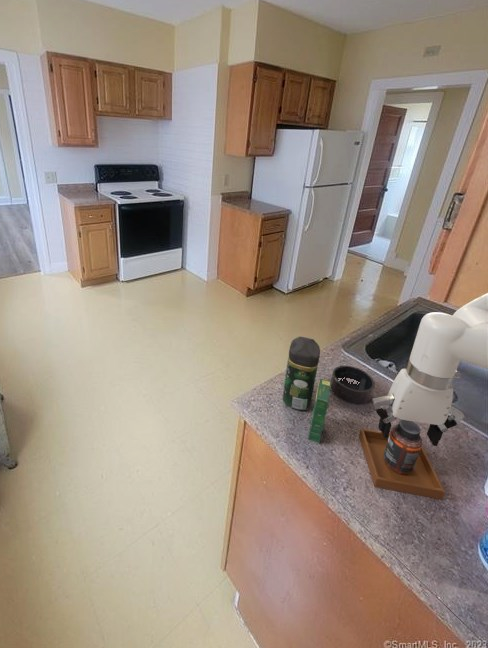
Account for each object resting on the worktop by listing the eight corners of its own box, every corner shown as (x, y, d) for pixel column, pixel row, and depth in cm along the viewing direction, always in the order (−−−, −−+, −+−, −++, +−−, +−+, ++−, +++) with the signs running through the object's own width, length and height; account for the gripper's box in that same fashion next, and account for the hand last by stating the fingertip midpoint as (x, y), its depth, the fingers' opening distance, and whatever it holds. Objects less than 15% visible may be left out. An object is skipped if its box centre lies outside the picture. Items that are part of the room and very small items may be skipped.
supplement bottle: (417, 468, 72) (432, 430, 68) (402, 480, 69) (417, 442, 65) (392, 447, 77) (404, 411, 73) (377, 458, 74) (388, 421, 70)
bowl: (365, 380, 99) (368, 368, 98) (376, 407, 89) (379, 394, 87) (327, 374, 101) (329, 363, 99) (333, 401, 91) (336, 388, 89)
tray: (415, 445, 78) (418, 437, 77) (441, 499, 66) (445, 491, 65) (358, 435, 80) (360, 428, 79) (374, 486, 68) (376, 478, 67)
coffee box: (311, 416, 86) (319, 377, 81) (323, 420, 84) (331, 380, 80) (307, 440, 79) (315, 398, 74) (319, 444, 78) (328, 402, 73)
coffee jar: (284, 383, 97) (292, 331, 90) (311, 391, 94) (322, 337, 87) (280, 406, 88) (288, 350, 82) (309, 415, 86) (321, 358, 79)
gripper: (467, 367, 66) (442, 429, 72) (376, 355, 68) (360, 416, 75) (490, 393, 59) (460, 459, 65) (388, 379, 62) (369, 444, 68)
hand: (407, 436), depth 70 cm, fingers open, 9 cm apart
